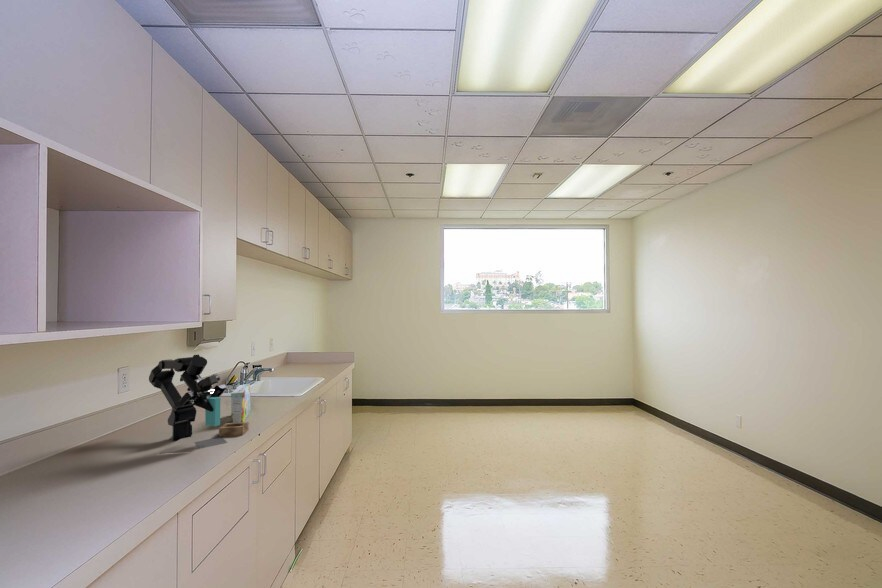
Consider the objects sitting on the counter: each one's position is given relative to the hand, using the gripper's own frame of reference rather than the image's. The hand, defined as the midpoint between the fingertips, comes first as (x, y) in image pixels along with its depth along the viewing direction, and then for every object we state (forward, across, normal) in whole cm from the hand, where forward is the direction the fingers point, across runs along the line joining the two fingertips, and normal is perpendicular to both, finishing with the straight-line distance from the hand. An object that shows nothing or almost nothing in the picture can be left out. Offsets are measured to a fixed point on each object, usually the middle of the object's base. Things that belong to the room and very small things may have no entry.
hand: (215, 410), depth 158 cm
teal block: (+3, 0, +5) cm, 6 cm away
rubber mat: (+8, -1, +11) cm, 14 cm away
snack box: (-3, +33, +22) cm, 40 cm away
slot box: (+9, +11, +10) cm, 18 cm away
